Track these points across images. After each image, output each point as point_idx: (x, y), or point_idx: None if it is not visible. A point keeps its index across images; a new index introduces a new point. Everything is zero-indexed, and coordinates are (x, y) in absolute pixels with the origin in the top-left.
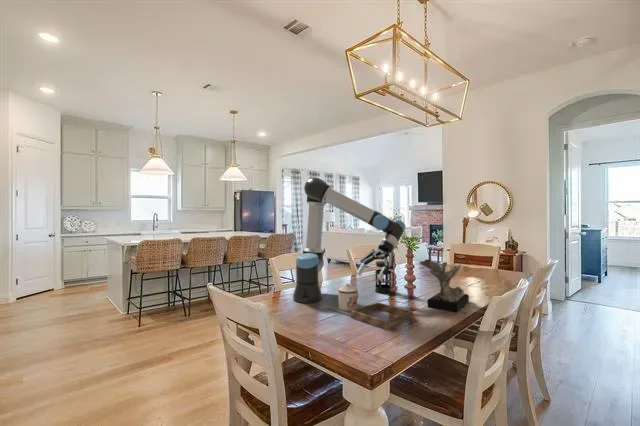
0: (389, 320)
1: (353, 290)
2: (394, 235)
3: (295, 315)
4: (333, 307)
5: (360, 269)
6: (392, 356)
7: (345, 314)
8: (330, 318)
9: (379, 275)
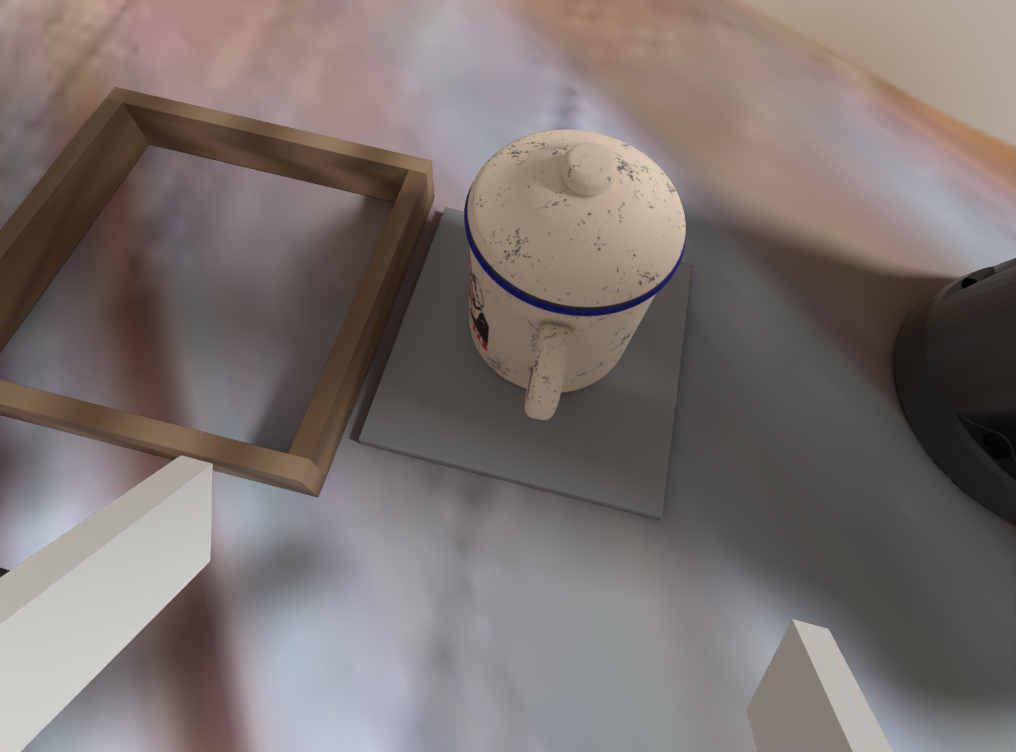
0: (96, 114)
1: (484, 174)
2: None
3: (748, 91)
4: None
5: (833, 741)
6: None
7: None
8: None
9: (155, 483)
